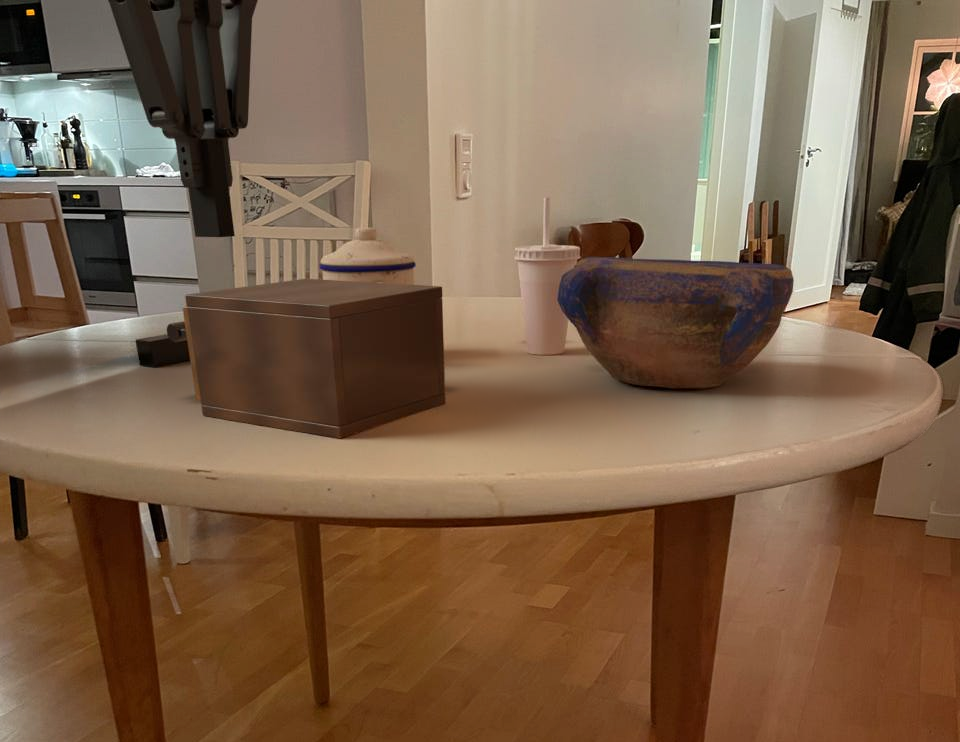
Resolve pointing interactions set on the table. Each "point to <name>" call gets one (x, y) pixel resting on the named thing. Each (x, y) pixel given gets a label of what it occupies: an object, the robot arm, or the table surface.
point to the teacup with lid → (368, 261)
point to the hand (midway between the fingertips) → (214, 236)
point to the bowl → (674, 316)
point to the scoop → (161, 351)
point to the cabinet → (318, 353)
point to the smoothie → (544, 291)
